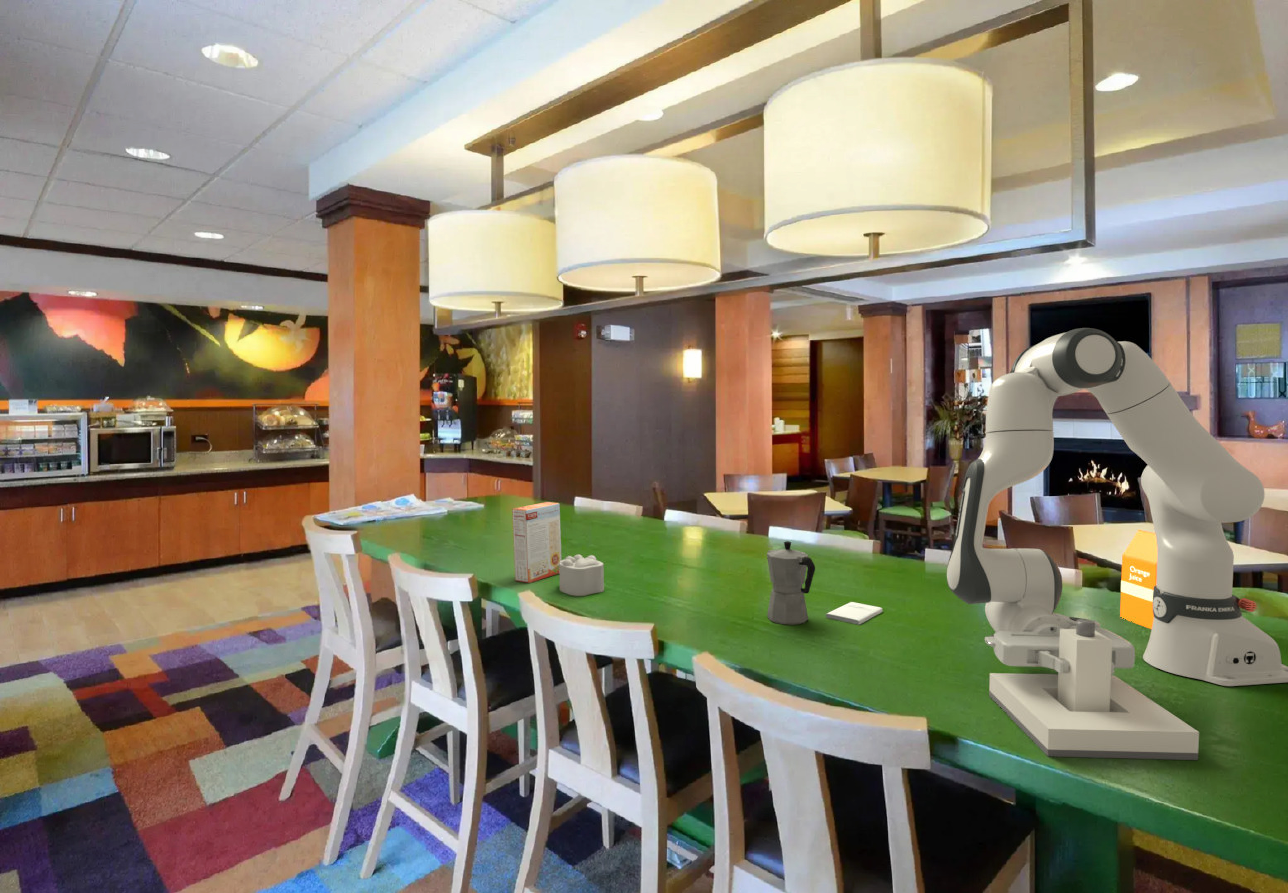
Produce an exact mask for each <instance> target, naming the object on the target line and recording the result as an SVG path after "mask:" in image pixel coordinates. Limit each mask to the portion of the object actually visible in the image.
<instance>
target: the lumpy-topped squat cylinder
mask: <svg viewBox="0 0 1288 893" xmlns="http://www.w3.org/2000/svg"><path fill="white" fill-rule="evenodd" d="M604 570H605V569H604V563H603V562H602V561H599V560H597V558H596V556H595V555H592V554H591V555H588V556H586V557H583V555H581V554H575V555H574V556H572V555H568V556H566V557H565V558H564V559H561V561H560V562H559V574H558V575H559V580H558V581H559V592H561V593H564V594H567V595H568V596H569V595H571V596H574V597H584V596H588V595H592V594H597V593H599V594H600V593H602V592H604V590H605V583H604V582H605V580H604V578H605V577H604V576H605V574H604V573H605V571H604Z"/></svg>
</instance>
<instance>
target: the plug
mask: <svg viewBox="0 0 1288 893" xmlns="http://www.w3.org/2000/svg"><path fill="white" fill-rule="evenodd" d="M1085 619H1086V618H1082V619H1078V620H1077V624H1076V629H1060V642H1059V658H1064V659H1066V661H1069V663H1070V668H1069V669H1070V672H1069V673H1058V702H1059V703H1060V704H1061V705H1063V706H1064V707H1065V708H1066V709H1067V710H1069V711H1071V712H1109V710H1110V684H1111V675H1112V674H1111V658H1112V640H1110V639H1109V638H1107V637H1105V636H1104V635H1102V634H1100V633H1099V632H1097V631H1095V622H1093V621H1091V620H1092V619H1088V620H1085Z"/></svg>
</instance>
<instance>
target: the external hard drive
mask: <svg viewBox="0 0 1288 893" xmlns="http://www.w3.org/2000/svg"><path fill="white" fill-rule="evenodd" d="M881 613H883V608H882V607H879V606H875V605H869V604H865V603H861V602H860V603H858V602H855V601H849V602H848V603H846V604H844V605H842V606H840V607H837V608H836V609H833V610H832V611H829V612H828V613H825V618H826V619H831V620H834V621H840V622H845V623H849V624H854V625H861V624H863V623H865V622H867V621H869V620H870V619H873V618H874V617H876V616H878V615H879V614H881Z"/></svg>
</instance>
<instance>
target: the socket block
mask: <svg viewBox="0 0 1288 893" xmlns="http://www.w3.org/2000/svg"><path fill="white" fill-rule="evenodd" d="M988 689H989V690H988V691H989V692H988V693H989V694H988V696H989V698H990V699H991V698H992V699H991V700H992V701H993V702H994V703H995V702H996V703H995V704H996V705H997V704H998V705H997V706H998V707H999V708H1000V707H1001V708H1002V709H1001V708H1000V709H1001V710H1002V711H1003V712H1004V711H1005V712H1006V713H1007V714H1006V713H1005V712H1004V713H1005V714H1006V715H1007V717H1009V716H1010V717H1009V718H1010V719H1011V721H1013V723H1014V724H1015V725H1016V726H1017V727H1019V729H1021V731H1022V732H1023V733H1025V735H1027V737H1028V738H1029V737H1030V738H1029V739H1030V740H1031V741H1032V740H1033V741H1032V742H1033V743H1034V744H1035V745H1036V746H1037V747H1038V748H1039V749H1040V750H1041V751H1042V752H1043V753H1044V754H1045V755H1046V757H1053V756H1054V757H1055V758H1057V757H1058V758H1062V757H1063V758H1095V759H1096V758H1097V759H1098V758H1100V759H1101V758H1102V759H1133V760H1134V759H1137V760H1139V759H1140V760H1141V759H1142V760H1143V759H1144V760H1174V761H1175V760H1177V761H1178V760H1180V761H1181V760H1183V761H1186V760H1187V761H1198V760H1199V747H1200V746H1199V744H1200V743H1199V742H1200V740H1199V739H1200V732H1199V731H1198V730H1197V729H1195V728H1194V727H1193V726H1191V725H1189V724H1187V723H1186V722H1185V721H1183V720H1182V719H1180V718H1179V717H1177V716H1176V715H1174V714H1172V713H1171V712H1170V711H1168V710H1167V709H1165V708H1164V707H1162V705H1159V704H1158V703H1156V702H1155V701H1153V700H1152V699H1150V698H1149V697H1147V696H1146V695H1145V694H1143V693H1141V692H1140V691H1139V690H1137V689H1136V688H1134V687H1132V686H1131V685H1130V684H1128V683H1127V682H1125V681H1123V680H1122V679H1120V678H1119V677H1117V676H1116V675H1115V674H1111V684H1110V710H1109V712H1071V711H1069V710H1067V709H1066V708H1065V707H1064V706H1063V705H1061V704H1060V703H1059V702H1058V674H1057V673H1005V672H1004V673H1001V672H998V673H997V672H996V673H995V672H990V673H989V688H988Z"/></svg>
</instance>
